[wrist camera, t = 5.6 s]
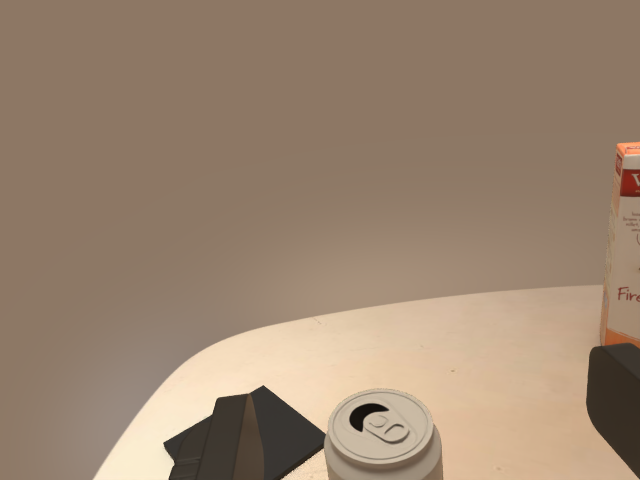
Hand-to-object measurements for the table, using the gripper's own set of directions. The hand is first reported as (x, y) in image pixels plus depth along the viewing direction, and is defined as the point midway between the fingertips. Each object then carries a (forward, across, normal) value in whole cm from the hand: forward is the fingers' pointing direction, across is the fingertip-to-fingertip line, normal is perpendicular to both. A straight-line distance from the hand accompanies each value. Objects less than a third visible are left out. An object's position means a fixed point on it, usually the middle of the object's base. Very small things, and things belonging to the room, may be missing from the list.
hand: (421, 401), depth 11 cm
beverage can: (+11, 0, +22) cm, 25 cm away
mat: (+24, +11, +22) cm, 34 cm away
